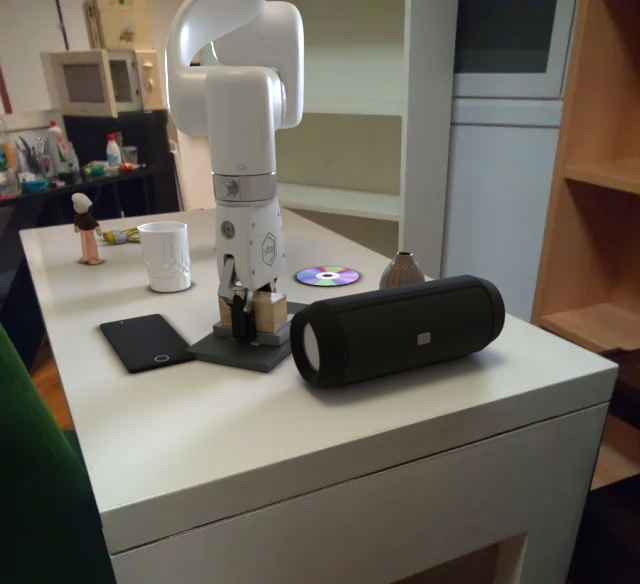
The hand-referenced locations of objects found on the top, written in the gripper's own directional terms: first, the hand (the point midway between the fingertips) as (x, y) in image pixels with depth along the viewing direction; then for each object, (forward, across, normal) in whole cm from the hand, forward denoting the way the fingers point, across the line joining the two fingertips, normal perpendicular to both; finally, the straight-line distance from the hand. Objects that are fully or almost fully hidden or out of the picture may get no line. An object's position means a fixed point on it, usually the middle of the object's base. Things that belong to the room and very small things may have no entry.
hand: (255, 330), depth 80 cm
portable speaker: (+2, 0, -20) cm, 20 cm away
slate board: (+2, +3, 0) cm, 3 cm away
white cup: (+2, +16, +25) cm, 30 cm away
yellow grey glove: (+2, +43, +52) cm, 68 cm away
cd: (+2, +31, +2) cm, 31 cm away
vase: (+2, +19, -15) cm, 24 cm away
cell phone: (+2, -6, +14) cm, 15 cm away
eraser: (+1, 0, 0) cm, 1 cm away
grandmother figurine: (+2, +23, +48) cm, 53 cm away
